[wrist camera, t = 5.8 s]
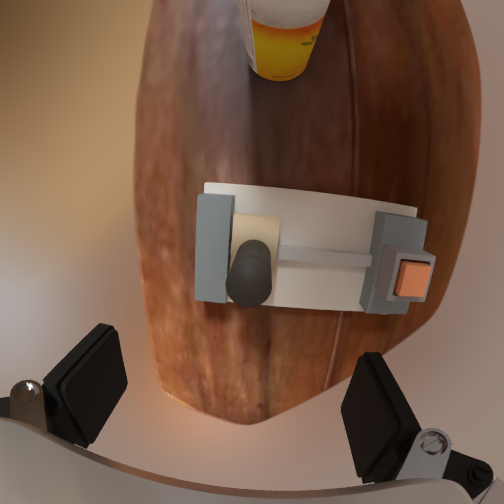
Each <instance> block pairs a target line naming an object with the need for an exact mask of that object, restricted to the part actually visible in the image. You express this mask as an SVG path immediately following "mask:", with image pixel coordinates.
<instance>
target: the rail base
mask: <svg viewBox="0 0 504 504" xmlns="http://www.w3.org/2000/svg"><path fill="white" fill-rule="evenodd" d="M235 213H247V214H259V215H270V216H280V229H279V238H278V248H277V257H276V267H275V276H274V284H273V293H272V295H270V296H269V298H268V299H267V300H266V301H265V302H264V303H262V304H261V305H267V306H280V307H293V308H307V309H323V310H342V311H365V313H370V314H407V310H408V307H409V304H410V301H414V302H424V301H425V298H426V295H427V291H428V287H429V284H430V280H431V276H432V272H433V268H434V263H435V259H436V257H435V256H434V255H432V254H430V253H428V252H426V251H424V250H423V246H424V241H425V235H426V229H427V223H428V221H426V220H423V219H420V218H417V217H416V214H417V208H415V207H411V206H406V205H401V204H395V203H389V202H383V201H377V200H371V199H365V198H358V197H351V196H344V195H337V194H330V193H322V192H314V191H305V190H296V189H287V188H277V187H266V186H254V185H241V184H226V183H209V182H207V183H205V186H204V193H202V194H198V200H197V220H196V249H195V300H199V301H208V302H217V303H226V302H233V301H232V300H231V299H230V298H229V296H228V294H227V292H226V288H225V283H226V278H227V276H228V273H229V271H230V263H231V246H232V231H233V216H234V214H235ZM401 259H409V260H419V261H422V262H424V263H426V264H427V265H429V266H430V267H432V268H431V272H430V276H429V280H428V284H427V287H426V291H425V295H424V297H415V296H399V295H398V294H397V293H396V292H395V291H394V286H395V282H396V278H397V274H398V269H399V265H400V260H401Z"/></svg>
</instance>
